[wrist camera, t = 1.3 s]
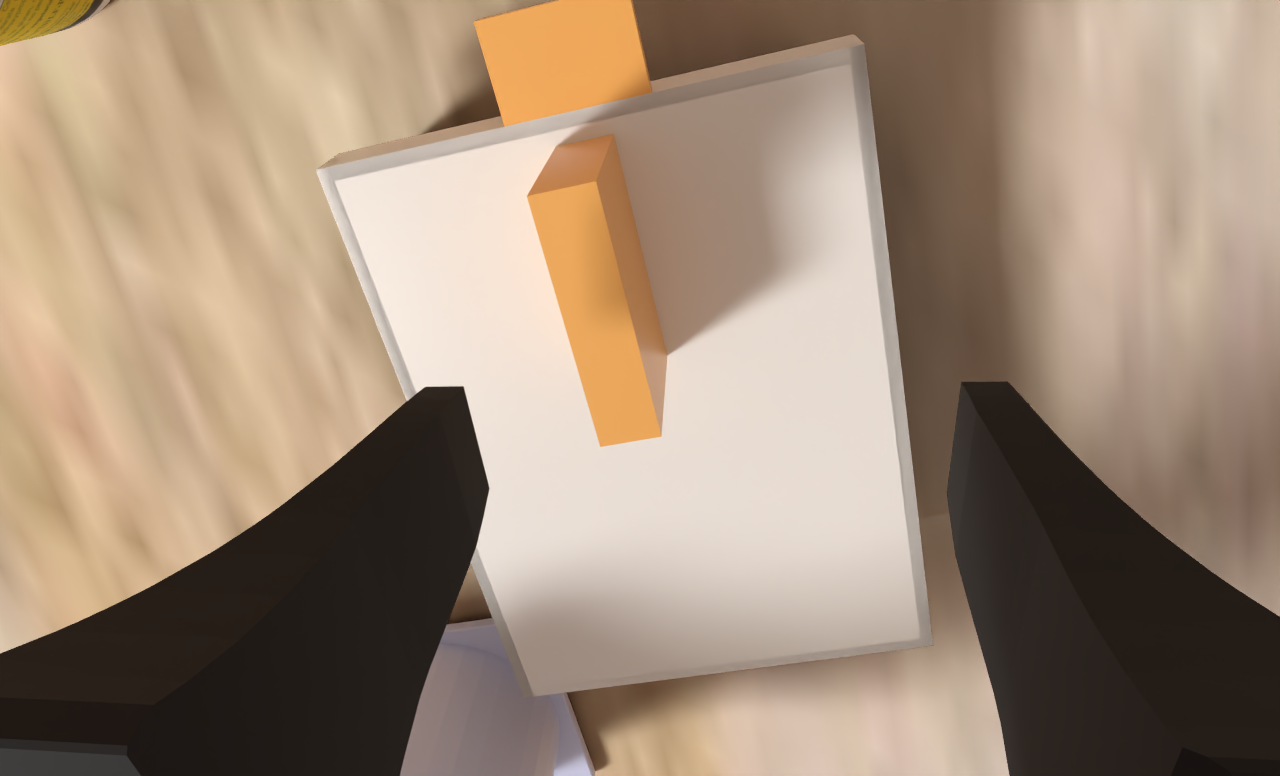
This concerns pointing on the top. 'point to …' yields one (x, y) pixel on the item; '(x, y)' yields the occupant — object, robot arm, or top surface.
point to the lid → (657, 349)
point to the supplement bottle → (43, 17)
